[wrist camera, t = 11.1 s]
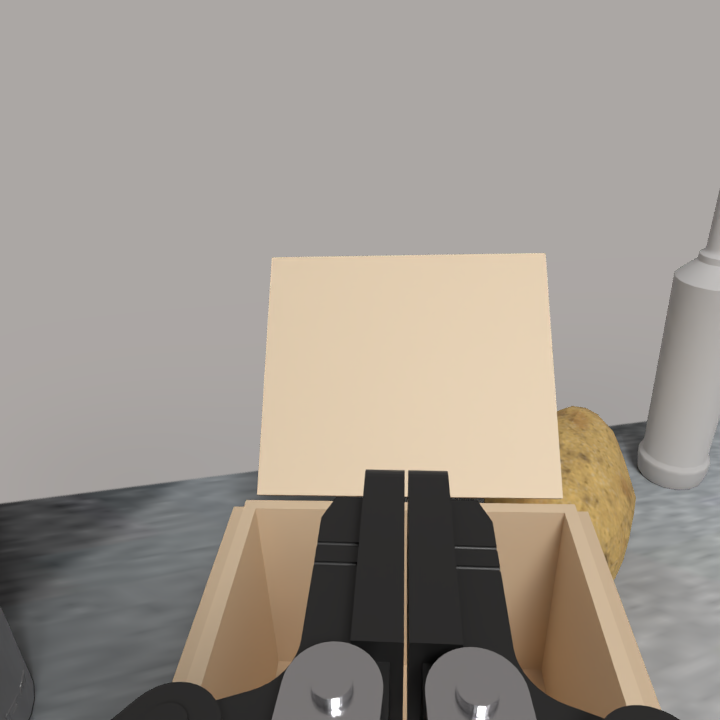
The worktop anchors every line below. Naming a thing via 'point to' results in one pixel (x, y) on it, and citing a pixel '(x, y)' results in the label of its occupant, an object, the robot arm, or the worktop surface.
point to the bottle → (687, 375)
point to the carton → (292, 583)
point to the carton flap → (410, 375)
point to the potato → (593, 480)
